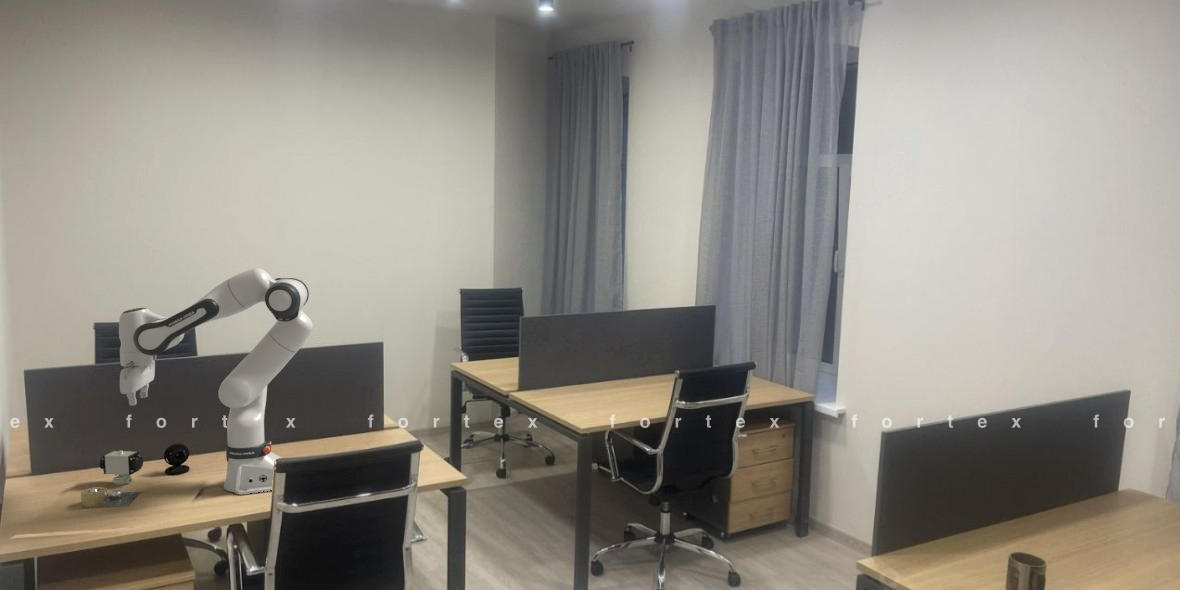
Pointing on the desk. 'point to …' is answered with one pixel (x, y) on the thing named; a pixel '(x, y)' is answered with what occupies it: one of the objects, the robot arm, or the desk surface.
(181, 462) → the webcam
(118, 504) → the carrier
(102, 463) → the pneumatic valve
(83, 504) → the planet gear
